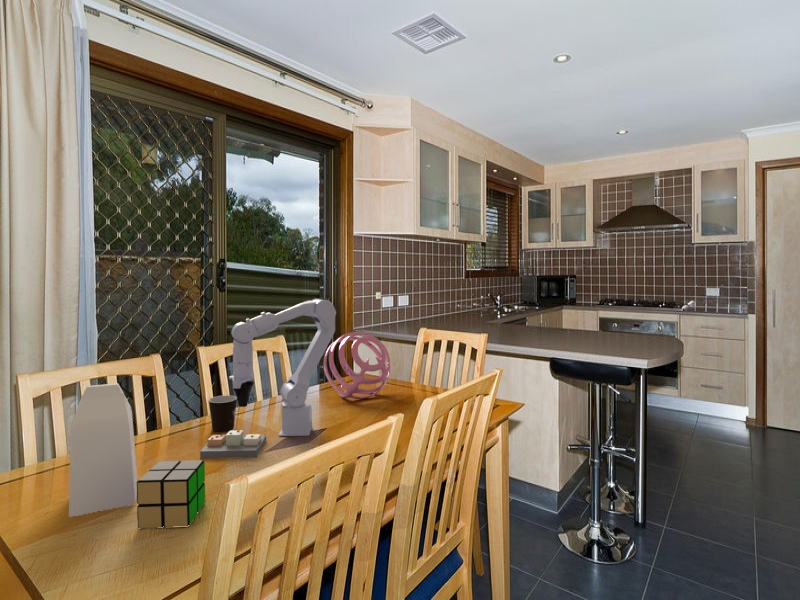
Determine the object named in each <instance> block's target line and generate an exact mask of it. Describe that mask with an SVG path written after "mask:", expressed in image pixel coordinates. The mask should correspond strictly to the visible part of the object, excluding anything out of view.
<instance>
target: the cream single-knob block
mask: <svg viewBox="0 0 800 600" xmlns="http://www.w3.org/2000/svg"><path fill="white" fill-rule="evenodd" d="M245 435H246V437H245V438H244V446H250V445H259V444H260V442H261V435H262V434H261V433H251V434H249V433H248V434H245Z"/></svg>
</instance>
